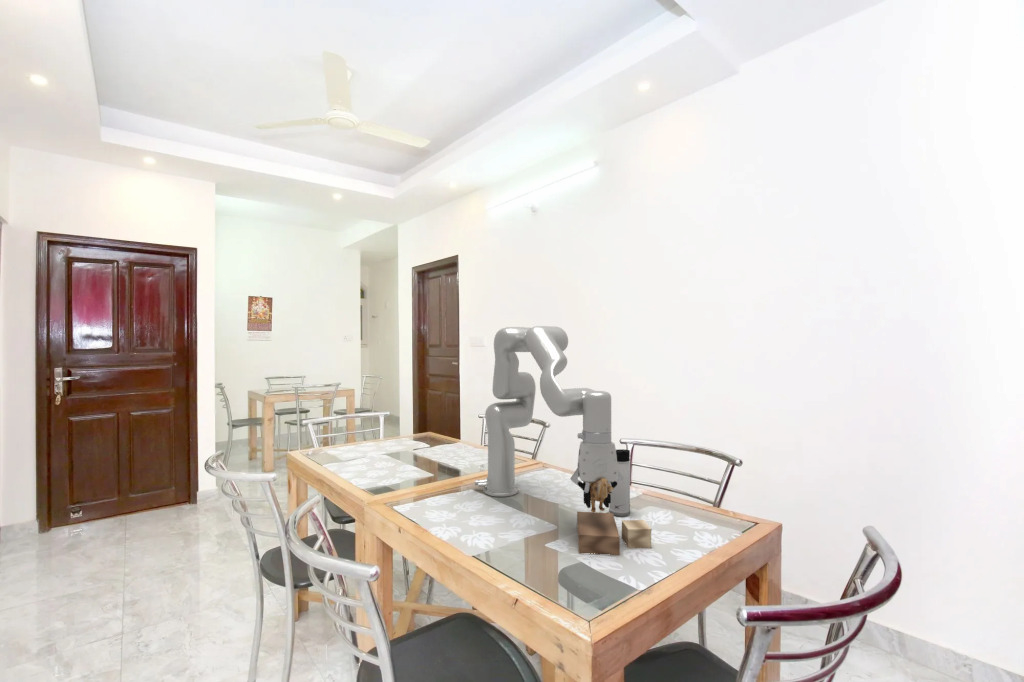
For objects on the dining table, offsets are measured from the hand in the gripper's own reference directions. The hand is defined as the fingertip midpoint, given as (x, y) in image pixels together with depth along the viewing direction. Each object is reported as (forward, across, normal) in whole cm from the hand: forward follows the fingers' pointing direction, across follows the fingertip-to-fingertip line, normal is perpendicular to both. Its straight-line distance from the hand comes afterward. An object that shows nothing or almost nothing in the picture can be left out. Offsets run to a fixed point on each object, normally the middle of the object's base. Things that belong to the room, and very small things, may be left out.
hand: (597, 505), depth 122 cm
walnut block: (+10, 0, 0) cm, 10 cm away
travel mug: (+10, +12, +19) cm, 24 cm away
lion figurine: (+1, 0, +1) cm, 2 cm away
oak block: (+10, +10, -2) cm, 14 cm away
